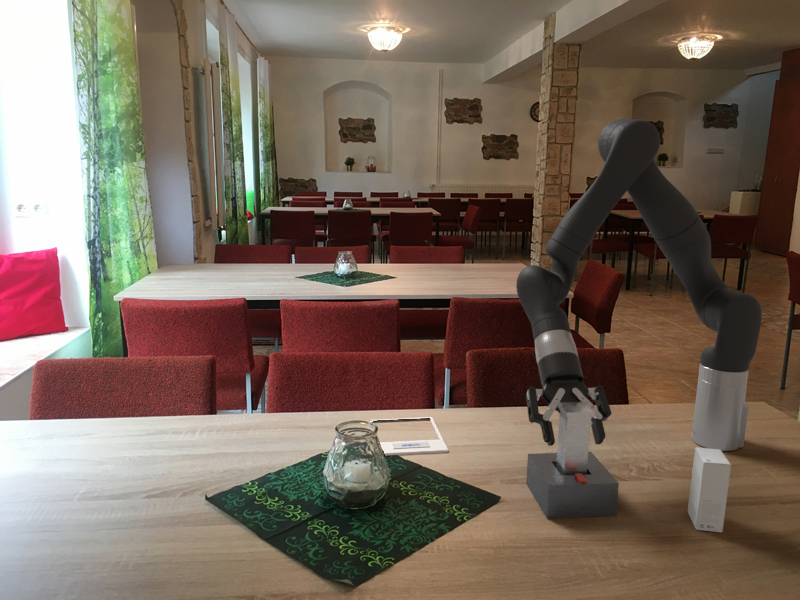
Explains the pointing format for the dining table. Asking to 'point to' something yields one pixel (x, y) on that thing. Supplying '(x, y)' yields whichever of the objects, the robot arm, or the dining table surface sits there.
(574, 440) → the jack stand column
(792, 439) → the dining table surface
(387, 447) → the photo frame
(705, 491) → the skincare box
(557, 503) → the block
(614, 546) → the dining table surface
